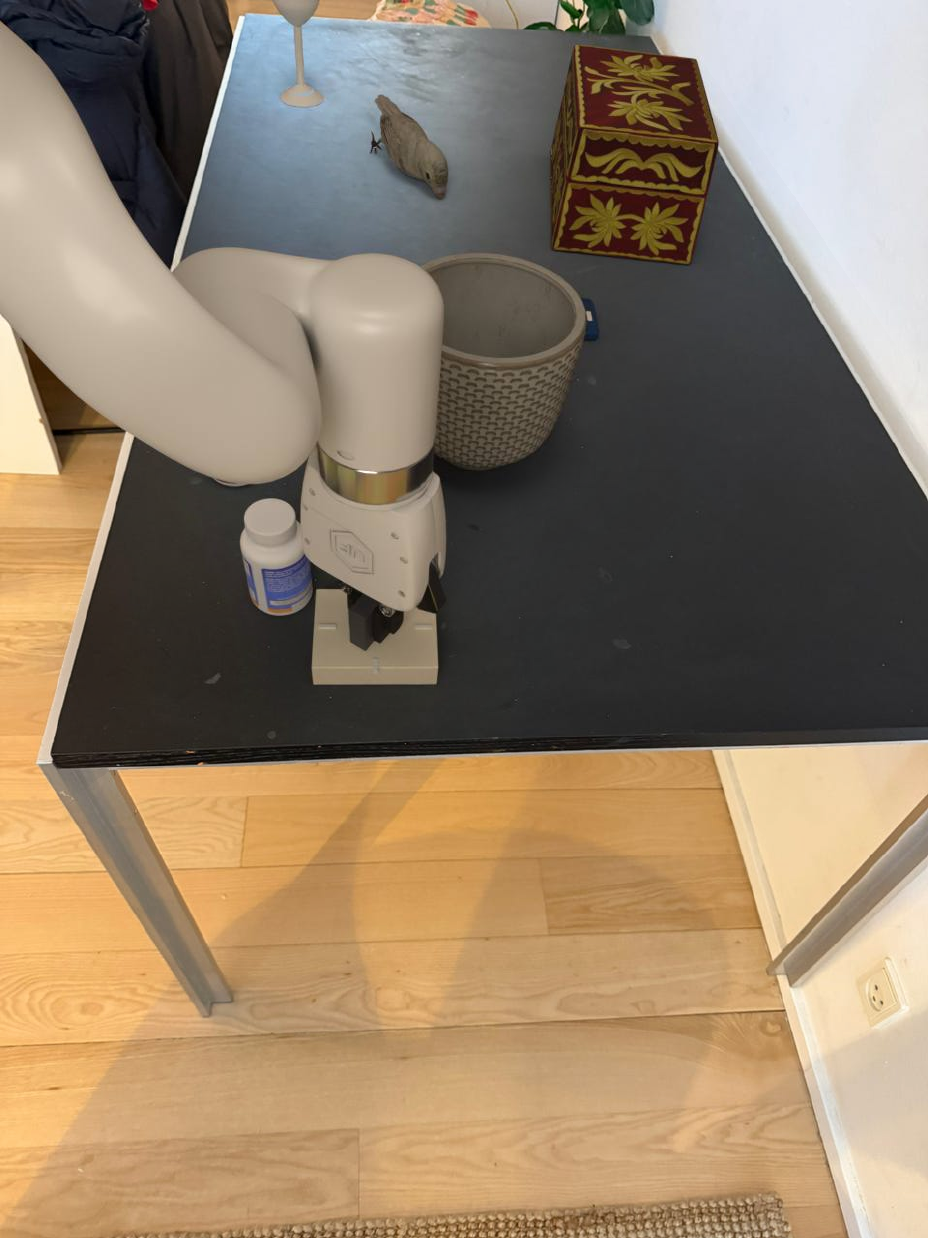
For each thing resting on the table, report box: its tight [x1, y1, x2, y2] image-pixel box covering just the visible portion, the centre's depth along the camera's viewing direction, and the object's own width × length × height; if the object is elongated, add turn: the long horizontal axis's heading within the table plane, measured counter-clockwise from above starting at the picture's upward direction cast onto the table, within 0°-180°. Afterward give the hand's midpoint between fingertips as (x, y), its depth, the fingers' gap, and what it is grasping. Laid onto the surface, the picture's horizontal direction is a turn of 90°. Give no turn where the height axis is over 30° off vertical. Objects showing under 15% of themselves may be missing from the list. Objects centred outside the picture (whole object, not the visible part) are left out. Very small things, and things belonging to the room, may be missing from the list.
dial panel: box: [311, 588, 439, 686], centre depth 72 cm, size 10×9×3 cm
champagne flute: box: [272, 0, 324, 108], centre depth 124 cm, size 7×7×24 cm
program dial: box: [349, 593, 379, 651], centre depth 69 cm, size 5×2×5 cm, turn 148°
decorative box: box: [549, 44, 720, 265], centre depth 115 cm, size 28×19×15 cm
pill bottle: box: [239, 497, 314, 617], centre depth 71 cm, size 5×5×10 cm
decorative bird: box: [369, 94, 449, 201], centre depth 119 cm, size 5×16×8 cm, turn 35°
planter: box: [419, 252, 587, 472], centre depth 83 cm, size 17×17×16 cm
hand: (375, 622), depth 70 cm, fingers closed on program dial
